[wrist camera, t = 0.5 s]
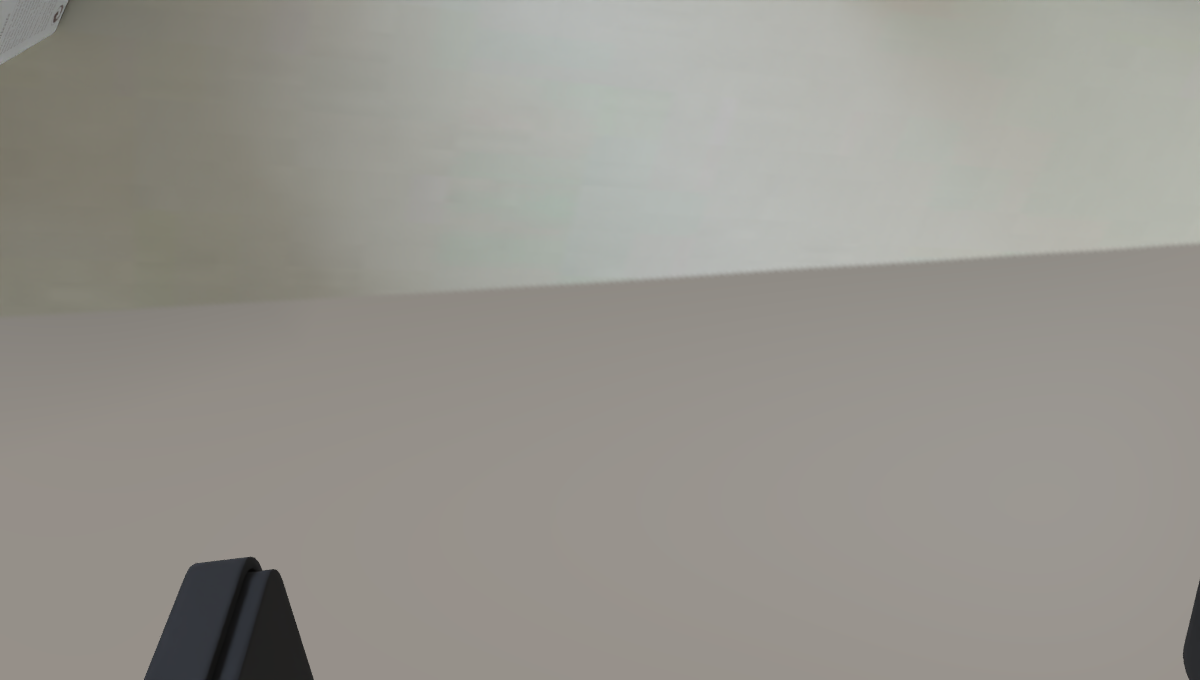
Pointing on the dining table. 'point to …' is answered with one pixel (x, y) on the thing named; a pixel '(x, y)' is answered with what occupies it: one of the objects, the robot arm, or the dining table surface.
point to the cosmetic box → (26, 24)
